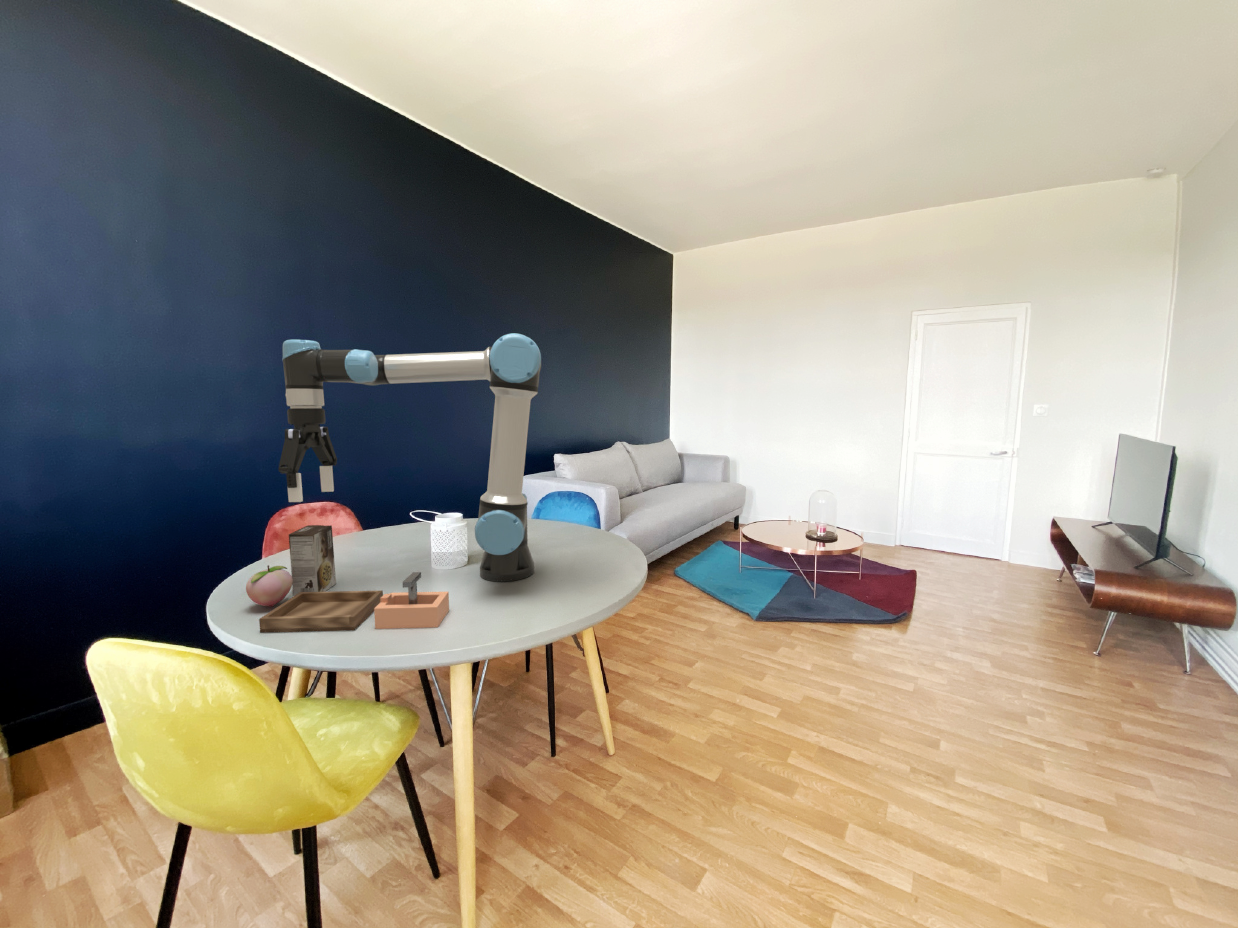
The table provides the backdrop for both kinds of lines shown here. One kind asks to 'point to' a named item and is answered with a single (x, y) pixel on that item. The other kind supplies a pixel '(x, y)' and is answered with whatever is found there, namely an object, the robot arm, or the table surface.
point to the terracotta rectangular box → (411, 610)
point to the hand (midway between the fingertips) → (312, 496)
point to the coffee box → (312, 559)
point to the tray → (321, 612)
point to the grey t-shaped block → (412, 586)
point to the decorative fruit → (269, 586)
